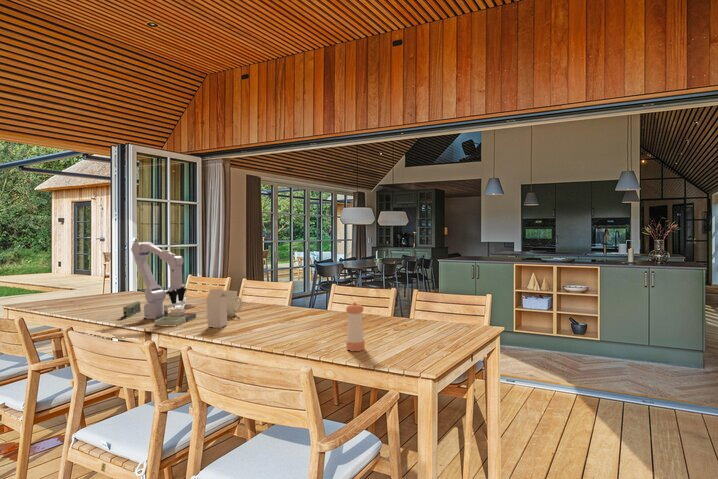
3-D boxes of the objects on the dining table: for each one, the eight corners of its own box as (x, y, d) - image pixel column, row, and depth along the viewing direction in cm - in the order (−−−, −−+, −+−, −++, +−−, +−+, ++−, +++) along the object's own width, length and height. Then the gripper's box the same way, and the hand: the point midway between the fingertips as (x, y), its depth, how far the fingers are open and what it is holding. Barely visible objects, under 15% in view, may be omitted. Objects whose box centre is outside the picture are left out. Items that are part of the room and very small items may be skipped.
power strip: (155, 321, 251) (155, 315, 251) (165, 317, 261) (165, 311, 261) (187, 321, 249) (187, 315, 249) (196, 317, 259) (195, 312, 259)
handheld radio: (141, 311, 281) (124, 320, 257) (136, 312, 281) (118, 320, 256) (141, 300, 281) (123, 308, 256) (135, 301, 281) (117, 308, 256)
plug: (170, 320, 253) (169, 309, 252) (175, 318, 258) (175, 307, 258) (180, 320, 252) (179, 309, 252) (185, 318, 258) (185, 307, 257)
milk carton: (220, 328, 231) (219, 290, 231) (207, 327, 233) (206, 290, 232) (227, 325, 238) (226, 288, 238) (214, 324, 240) (213, 288, 239)
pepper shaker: (364, 346, 192) (363, 300, 191) (365, 351, 184) (364, 303, 184) (346, 347, 191) (345, 301, 191) (346, 352, 184) (345, 304, 183)
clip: (165, 314, 255) (165, 305, 254) (163, 314, 255) (162, 305, 255) (186, 309, 269) (185, 301, 269) (183, 309, 270) (183, 300, 270)
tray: (154, 326, 239) (154, 320, 239) (164, 321, 249) (164, 316, 249) (176, 326, 238) (176, 320, 238) (185, 322, 248) (185, 316, 248)
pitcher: (235, 318, 255) (234, 293, 254) (211, 315, 263) (210, 291, 263) (248, 314, 265) (248, 290, 264) (225, 312, 273) (224, 289, 273)
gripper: (176, 279, 247) (177, 304, 247) (189, 276, 261) (190, 300, 262) (164, 279, 248) (165, 304, 248) (177, 276, 262) (178, 300, 262)
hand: (177, 302), depth 255 cm, fingers open, 7 cm apart
